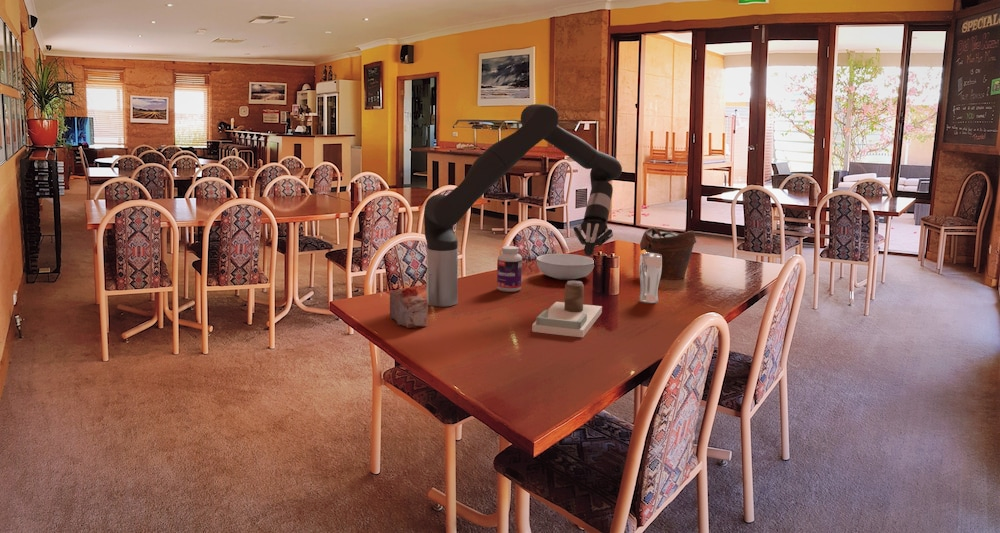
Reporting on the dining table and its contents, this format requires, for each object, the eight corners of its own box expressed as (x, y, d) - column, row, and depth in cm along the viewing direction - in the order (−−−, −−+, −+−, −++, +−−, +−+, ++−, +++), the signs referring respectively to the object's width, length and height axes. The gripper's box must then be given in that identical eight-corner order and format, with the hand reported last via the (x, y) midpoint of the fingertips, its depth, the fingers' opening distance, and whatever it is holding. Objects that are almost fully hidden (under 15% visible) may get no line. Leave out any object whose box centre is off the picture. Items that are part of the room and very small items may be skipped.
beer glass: (661, 299, 233) (664, 253, 229) (656, 304, 226) (659, 257, 223) (640, 297, 235) (643, 251, 232) (634, 302, 229) (637, 255, 226)
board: (556, 308, 221) (556, 295, 220) (601, 312, 216) (602, 299, 215) (532, 331, 197) (532, 317, 196) (582, 337, 192) (583, 323, 191)
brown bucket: (637, 268, 278) (640, 222, 274) (690, 271, 275) (694, 224, 271) (639, 280, 260) (642, 230, 256) (696, 283, 258) (700, 233, 254)
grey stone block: (432, 327, 199) (432, 292, 197) (405, 331, 195) (405, 296, 193) (410, 315, 210) (410, 282, 208) (384, 319, 206) (384, 285, 204)
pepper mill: (567, 312, 209) (568, 284, 207) (562, 307, 214) (563, 280, 212) (585, 311, 210) (586, 284, 208) (579, 306, 215) (580, 279, 213)
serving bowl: (578, 287, 248) (579, 267, 247) (525, 278, 259) (525, 259, 257) (603, 276, 265) (604, 257, 264) (552, 268, 276) (553, 251, 275)
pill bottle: (493, 291, 240) (493, 248, 237) (502, 286, 247) (503, 244, 244) (516, 293, 237) (517, 250, 234) (524, 288, 244) (525, 246, 241)
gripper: (575, 202, 233) (565, 246, 224) (617, 204, 229) (608, 249, 220) (578, 216, 239) (568, 259, 230) (619, 218, 235) (610, 263, 226)
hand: (588, 254), depth 225 cm, fingers closed
